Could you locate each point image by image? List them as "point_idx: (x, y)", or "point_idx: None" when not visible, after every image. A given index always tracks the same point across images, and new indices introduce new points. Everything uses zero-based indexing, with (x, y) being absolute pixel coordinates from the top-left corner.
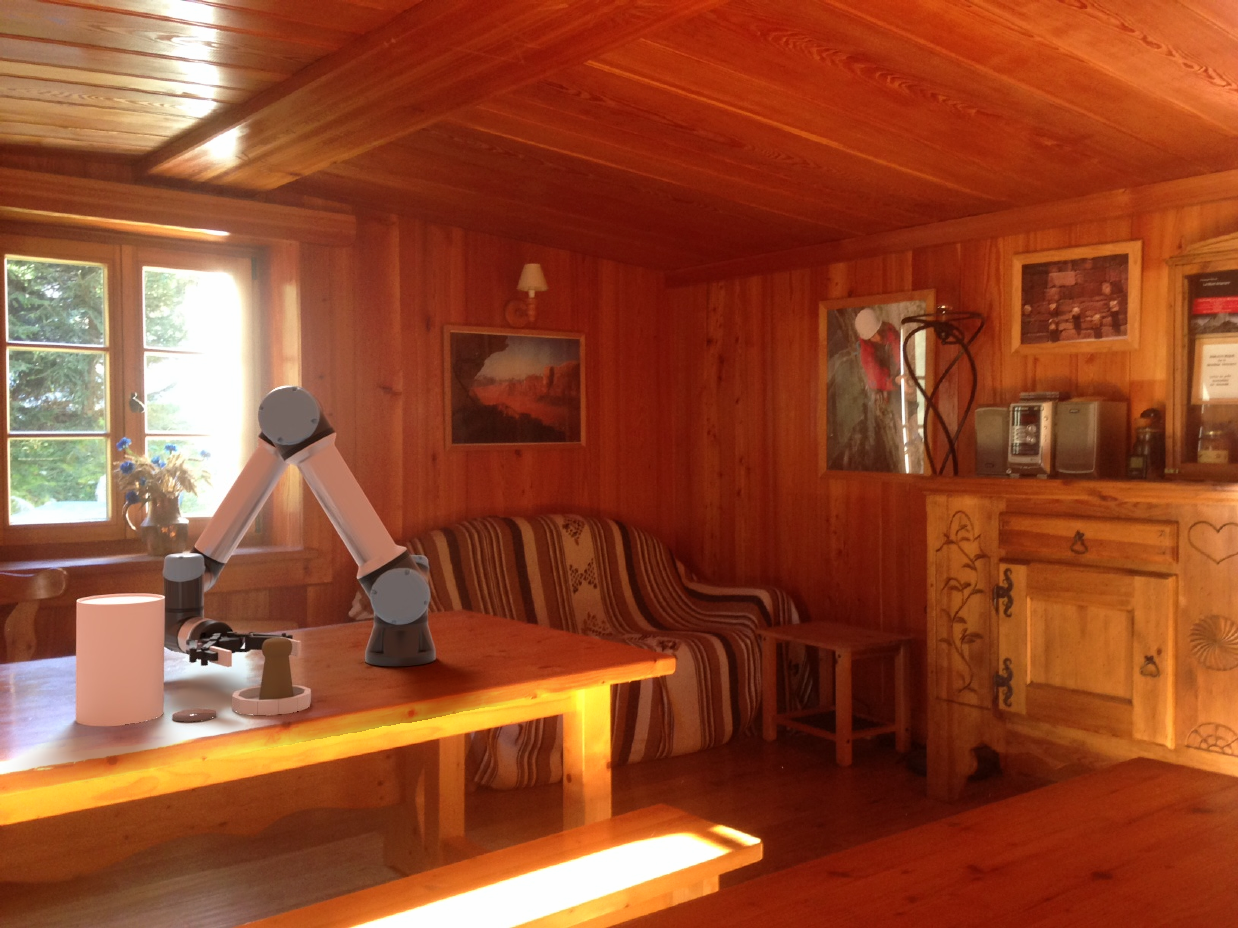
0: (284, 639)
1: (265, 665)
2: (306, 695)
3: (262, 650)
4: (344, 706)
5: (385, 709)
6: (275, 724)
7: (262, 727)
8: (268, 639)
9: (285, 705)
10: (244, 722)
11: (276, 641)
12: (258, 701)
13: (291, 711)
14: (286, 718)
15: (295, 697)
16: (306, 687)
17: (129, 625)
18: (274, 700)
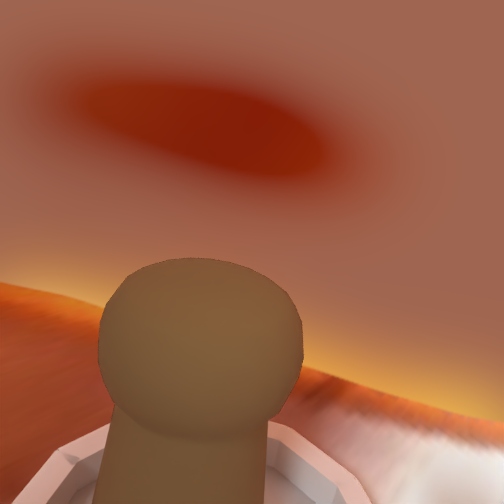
0: (198, 260)
1: (266, 446)
2: None
3: (294, 383)
4: (70, 381)
5: (66, 305)
6: (350, 410)
7: (394, 417)
8: (262, 308)
9: None
10: (419, 493)
11: (259, 273)
12: (352, 476)
13: None
14: (288, 425)
15: None
16: (31, 482)
17: None
18: (299, 438)
